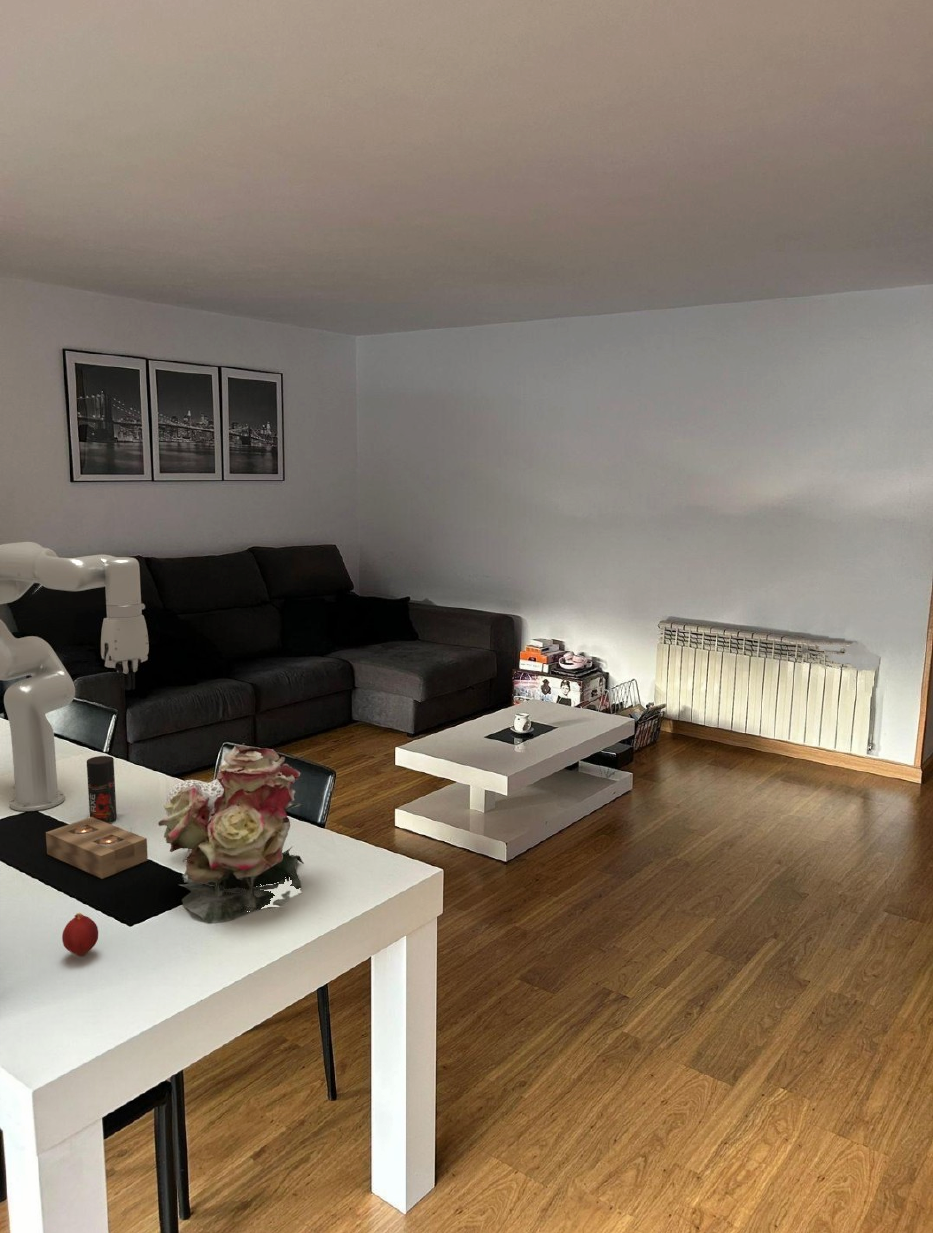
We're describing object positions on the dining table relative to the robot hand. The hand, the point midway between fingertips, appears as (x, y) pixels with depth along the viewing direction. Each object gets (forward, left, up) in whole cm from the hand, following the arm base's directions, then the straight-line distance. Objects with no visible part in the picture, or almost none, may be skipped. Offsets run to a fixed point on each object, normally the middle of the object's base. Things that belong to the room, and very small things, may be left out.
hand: (128, 688), depth 215 cm
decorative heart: (+30, -2, -32) cm, 44 cm away
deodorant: (-5, -5, -32) cm, 33 cm away
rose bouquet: (+49, -11, -32) cm, 60 cm away
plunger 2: (+16, -18, -32) cm, 40 cm away
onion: (+45, -43, -32) cm, 70 cm away
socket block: (+12, -18, -32) cm, 39 cm away
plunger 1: (+8, -18, -32) cm, 37 cm away
